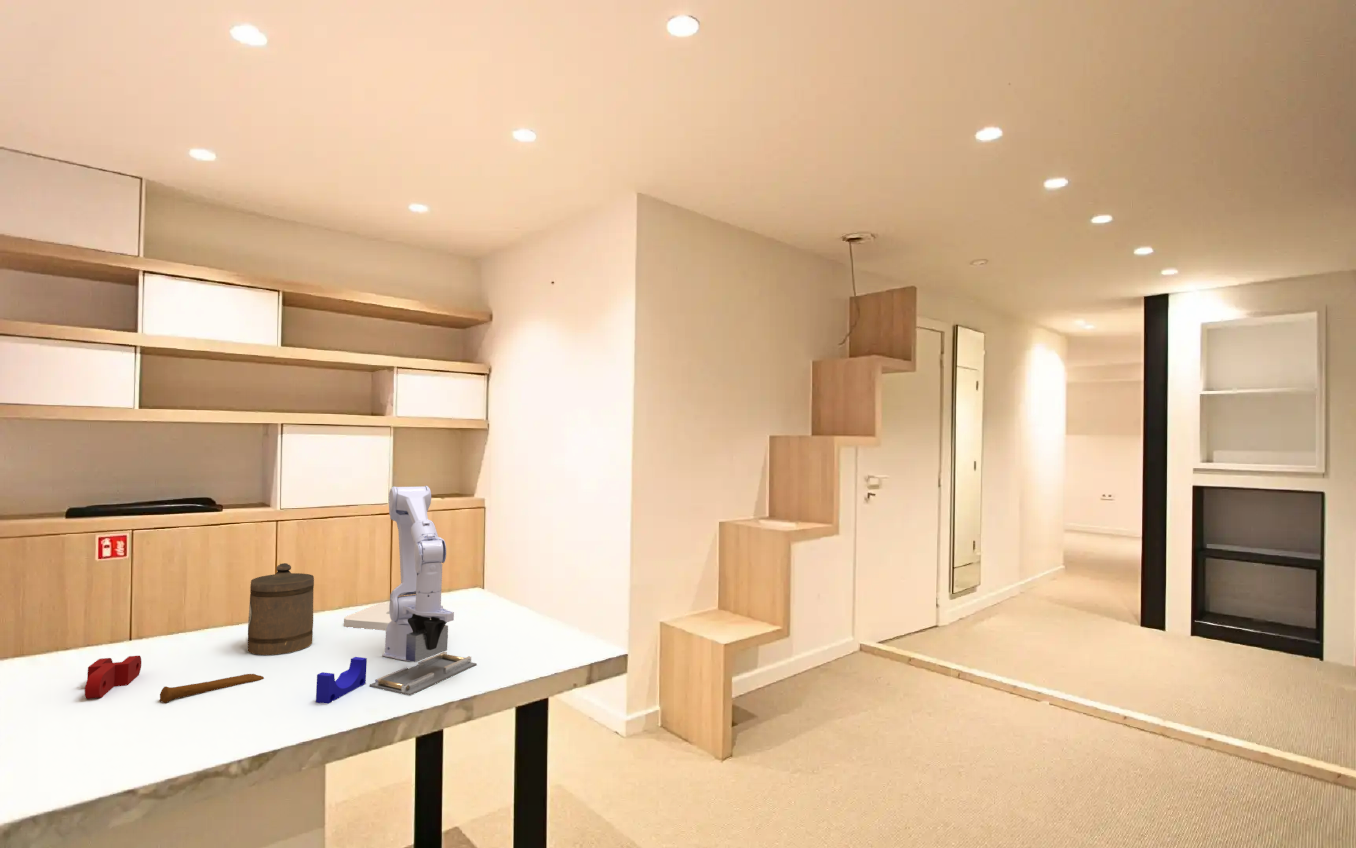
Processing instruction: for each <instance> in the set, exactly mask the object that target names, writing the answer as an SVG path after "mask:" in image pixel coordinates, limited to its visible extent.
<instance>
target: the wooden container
mask: <svg viewBox="0 0 1356 848" xmlns="http://www.w3.org/2000/svg"><path fill="white" fill-rule="evenodd" d="M290 570H292V566H291V565H290V564H289V563H280V564H279V565H277V566H276V571H277V572H276V573H275V574H269V575H267V574H266V575H263V576H258V577H255V578H253V579H251V580H250V587H249V589H250V590H249V591H250V595H249V607H248V609H249V610H248V622H247V623H248V624H247V652H248V653H249V654H252V655H256V656H275V655H277V656H278V655H284V654H291V653H295V652H298V651H301V650H304V649H307V648H308V647H310V646H311V645H312V644H313V639H314V638H313V636H314V635H313V634H314V632H313V630H314V586H315V579H314V578H315V577H314V575H313V574H308V573H302V572H301V573H299V572H298V573H296V572H291V571H290Z"/></svg>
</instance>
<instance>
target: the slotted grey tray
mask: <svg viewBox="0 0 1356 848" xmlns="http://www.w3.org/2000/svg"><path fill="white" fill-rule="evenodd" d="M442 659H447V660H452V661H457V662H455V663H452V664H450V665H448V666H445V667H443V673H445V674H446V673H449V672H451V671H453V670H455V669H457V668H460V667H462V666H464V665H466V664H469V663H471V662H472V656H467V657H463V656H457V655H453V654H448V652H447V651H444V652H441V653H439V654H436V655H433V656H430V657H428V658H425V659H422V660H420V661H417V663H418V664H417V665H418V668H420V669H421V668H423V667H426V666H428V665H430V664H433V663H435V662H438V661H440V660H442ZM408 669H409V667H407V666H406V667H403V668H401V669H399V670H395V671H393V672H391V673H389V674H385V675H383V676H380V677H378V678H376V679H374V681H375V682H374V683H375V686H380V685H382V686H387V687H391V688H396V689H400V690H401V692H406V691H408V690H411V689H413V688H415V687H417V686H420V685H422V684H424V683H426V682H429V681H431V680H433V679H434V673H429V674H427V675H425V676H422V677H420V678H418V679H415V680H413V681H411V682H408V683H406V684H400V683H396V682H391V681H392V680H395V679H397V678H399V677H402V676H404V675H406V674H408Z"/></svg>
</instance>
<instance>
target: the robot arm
mask: <svg viewBox="0 0 1356 848" xmlns="http://www.w3.org/2000/svg"><path fill="white" fill-rule="evenodd" d="M431 504H432V491H431V488H430V487H429V486H428V485H423V486H392V487H391V488H390V489H389V493H388V514H389V519H390V520H391V521H394V522H396V526H397V530H398V531H397V532H398V547H399V548H398V549H399V568H400V571H399V572H400V584H399V585H397V586H396V587H395V588H394V589H393V590H392V591H391V592H390V595H389V602H390V605H389V613H390V618H391V620H392V621H391V622H390V623H389V624H388V626H387V628H386V631H385V638H384V653H382V655H381V656H382V657H386V658H392V659H396V660H401V661H406V662H409V661H408V660H406V638H407V634H409V633H412V632H415V631H418V630H421V629H425V628H426V632H427V646H428V650H432V649H435V648H436V647H437V644H438V640H439V637H440V634H441V632H442V630H443V628H444V626H445V625H447V623H449V622H452V621H455V620H454V618H455V612H453V611H451V610H448V609H446V608H444V606H443V605H442V590H443V589H442V587H443V585H442V584H443V564H444V563H445V562H446V560H447V544H446V540H445V539H444V538H442V537H440V536H439V534H438V531H437V528H436V526H435V523H434V522H433V521H432V520H431V519H429V515H428V511H429V508H430V506H431ZM430 619H431V620H430Z"/></svg>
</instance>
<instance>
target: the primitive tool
mask: <svg viewBox="0 0 1356 848" xmlns="http://www.w3.org/2000/svg"><path fill="white" fill-rule="evenodd" d="M264 679H265V678H264V676H262V675H258V674H255V673H246V674H245V673H244V674H241V675H237V676H236V675H235V676H230V677H225V678H219V679H215V680H210V681H203V682H199V683H191V684H187V685H186V684H185V685H179V686H174V687H172V686H171V687H169V686H163V688H162V689H161V691H160V694H159V701H160V702H161V703H163V704H167V703H170V702H171V701H172V700H173V701H174V700H176V699H181V698H183V699H184V698H186V697H190V696H196V695H199V694H204V693H207V692H212V691H217V690H222V689H226V688H232V687H235V686H241V685H244V684H249V683H255V682H260V681H262V680H264Z"/></svg>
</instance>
